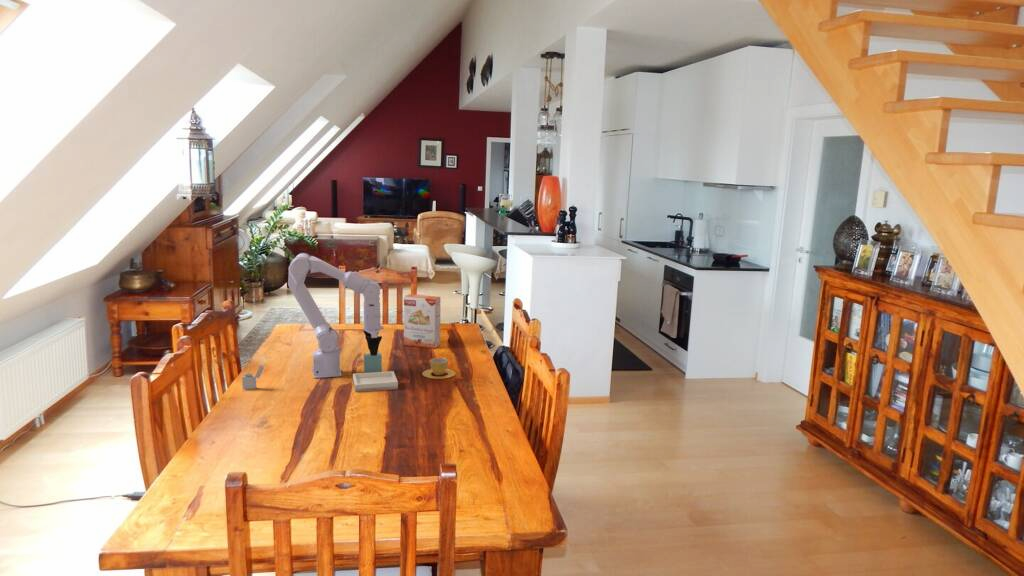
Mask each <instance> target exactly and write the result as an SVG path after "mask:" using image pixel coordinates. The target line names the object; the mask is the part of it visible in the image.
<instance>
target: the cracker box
mask: <svg viewBox="0 0 1024 576" xmlns="http://www.w3.org/2000/svg"><path fill="white" fill-rule="evenodd" d="M403 345H404V346H409V347H417V348H425V349H426V348H427V349H433V350H435V349H436V348H438V347H439V346H441V296H434V295H425V294H424V295H423V294H413V293H409V294H408V295H405V296H403Z"/></svg>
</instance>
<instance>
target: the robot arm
mask: <svg viewBox="0 0 1024 576" xmlns="http://www.w3.org/2000/svg"><path fill="white" fill-rule="evenodd" d="M309 271H310V274H314V273H322V274H324V275H327V276H328V277H331V278H334V279H336V280H338V281H341V283H342V285H343V287H345V288H347V289H349V290H351V291H353V292H356V293H358V294H359V295H360V294H361V295H362V296H363V297H364V298H363V300H364V301H363V334H364V335H365V336H364V338H365V340H366V343H367V348H368V350H369V353H370V354H371V356H376V355H377V353H379V346H380V343H381V340H382V339H383V336H381V335H378V334H379V333H380V331H381V330H385V327H384V326H381V302H380V300H381V299H380V294H381V286H380V284H379V283H378V282H377V281H376V280H374V279H371V278H369V277H368V278H366V277H363V276H362V275H360V274H359V273H358V272H357V271H355V270H354V272H353V271H351V270H350V271H346V272H345V271H343V270H341V268H338V267H336V266H333V265H332V264H330V263H328V262H326V261H324V260H323V259H320V258H319V257H316V256H314V255H310V254H308V253H305V252H300V253H299V254H297V255H296V256H295V258H293V259H292V260H291V262H290V264H289V266H288V278H287V279H288V281H287V285H288V288H289V289H290V292H291V293H292V295H293V296H294V298H295V299H296V301H297V303H298V305H299V307H300V308H301V310H302V311H303V314H304V315H305V316H306V319H307V320H308V322H309V323H310V325H311V326H312V328H313V331H314V334H315V338H316V339H317V345H318V349H317V350H313V351H312V365H313V366H312V369H311V370H312V372H313V378H314V379H321V378H336V377H342V369H341V363H340V362H341V360H340V359H341V357H340V356H341V355H340V347H339V345H338V341H339V339H340V335H339V333H338V331H337V330H336V329H334V328H333V327H332V326H331V324H330V323H329V322H328V321H327V320H326V318H325V317H324V315H323V314H322V312H321V310H320V308H319V306H318V305H317V303H316V302H315V300H314V298H313V296H312V295H311V293H310V291H309V289H308V288H307V286H306V284H305V280H306V277H307V274H308V272H309Z"/></svg>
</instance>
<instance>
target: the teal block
mask: <svg viewBox="0 0 1024 576" xmlns="http://www.w3.org/2000/svg"><path fill="white" fill-rule="evenodd" d="M382 359H383V358H382V353H381V352H378V353H377V355H376V356H371V354H370V352H369V353H363V373H372V372H383V370H382V368H383V364H382Z"/></svg>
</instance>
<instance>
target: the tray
mask: <svg viewBox="0 0 1024 576" xmlns="http://www.w3.org/2000/svg"><path fill="white" fill-rule="evenodd" d="M352 383H353V387H354V393H358V392H359V393H360V392H361V393H362V392H376V391H389V390H399V381H398V379H397V376H396V373H395V371H394V370H390V371H389V370H387V371H382V372H372V373H364V372H359V373H352Z"/></svg>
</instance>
